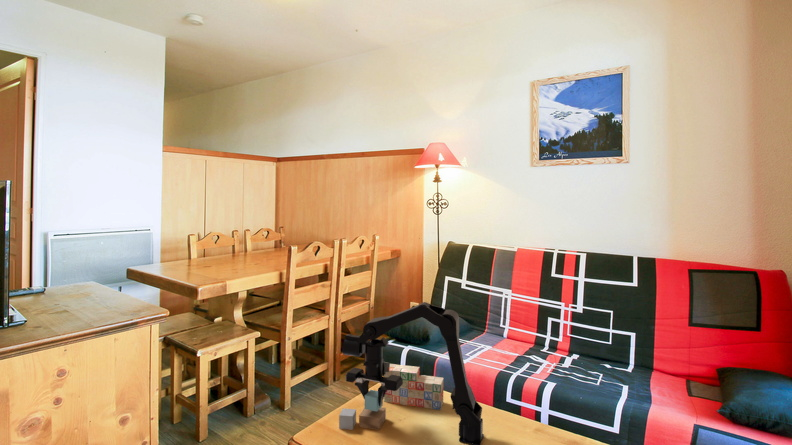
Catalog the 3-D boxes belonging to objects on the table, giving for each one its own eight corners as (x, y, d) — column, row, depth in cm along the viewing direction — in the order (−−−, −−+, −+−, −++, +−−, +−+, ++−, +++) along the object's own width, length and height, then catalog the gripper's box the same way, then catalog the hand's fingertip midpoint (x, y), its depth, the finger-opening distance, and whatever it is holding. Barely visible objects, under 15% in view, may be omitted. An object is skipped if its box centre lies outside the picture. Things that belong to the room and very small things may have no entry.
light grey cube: (356, 422, 132) (356, 409, 132) (352, 430, 128) (352, 416, 128) (342, 421, 133) (342, 408, 133) (339, 428, 129) (339, 415, 129)
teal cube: (382, 405, 133) (382, 392, 133) (376, 411, 129) (376, 397, 129) (370, 402, 135) (370, 389, 135) (364, 408, 131) (364, 395, 131)
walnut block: (385, 419, 135) (385, 407, 135) (379, 430, 128) (379, 418, 128) (366, 416, 137) (366, 405, 136) (359, 427, 130) (359, 415, 130)
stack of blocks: (443, 402, 147) (444, 369, 146) (440, 410, 141) (441, 376, 140) (388, 394, 153) (388, 362, 152) (383, 402, 147) (383, 369, 146)
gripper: (408, 353, 135) (408, 398, 136) (360, 346, 143) (360, 388, 143) (395, 365, 125) (395, 414, 126) (344, 356, 133) (344, 402, 133)
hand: (373, 404), depth 132 cm, fingers closed on teal cube, 4 cm apart
